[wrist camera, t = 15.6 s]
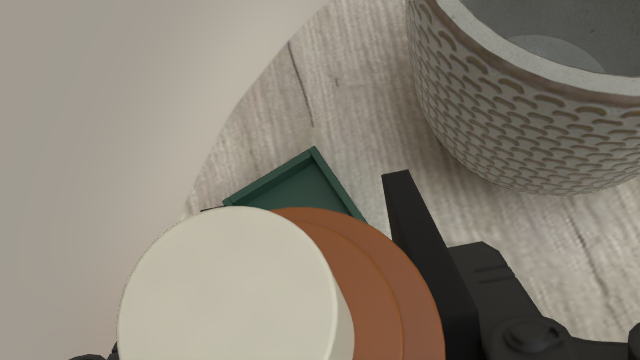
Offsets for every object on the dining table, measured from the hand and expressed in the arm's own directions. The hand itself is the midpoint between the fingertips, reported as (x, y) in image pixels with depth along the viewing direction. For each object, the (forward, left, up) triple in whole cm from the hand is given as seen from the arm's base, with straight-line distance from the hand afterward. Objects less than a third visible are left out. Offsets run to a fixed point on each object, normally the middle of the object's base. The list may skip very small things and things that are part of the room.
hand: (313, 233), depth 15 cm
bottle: (-1, -4, -6) cm, 7 cm away
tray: (0, +9, -24) cm, 26 cm away
